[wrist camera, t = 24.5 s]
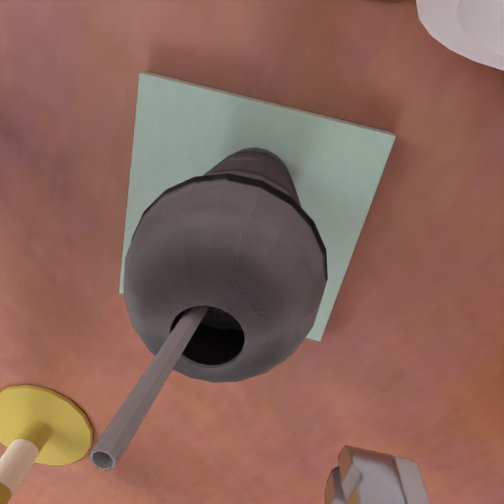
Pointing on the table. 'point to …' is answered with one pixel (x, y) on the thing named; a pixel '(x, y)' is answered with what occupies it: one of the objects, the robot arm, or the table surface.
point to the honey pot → (467, 27)
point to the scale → (265, 137)
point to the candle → (38, 433)
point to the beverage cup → (218, 282)
